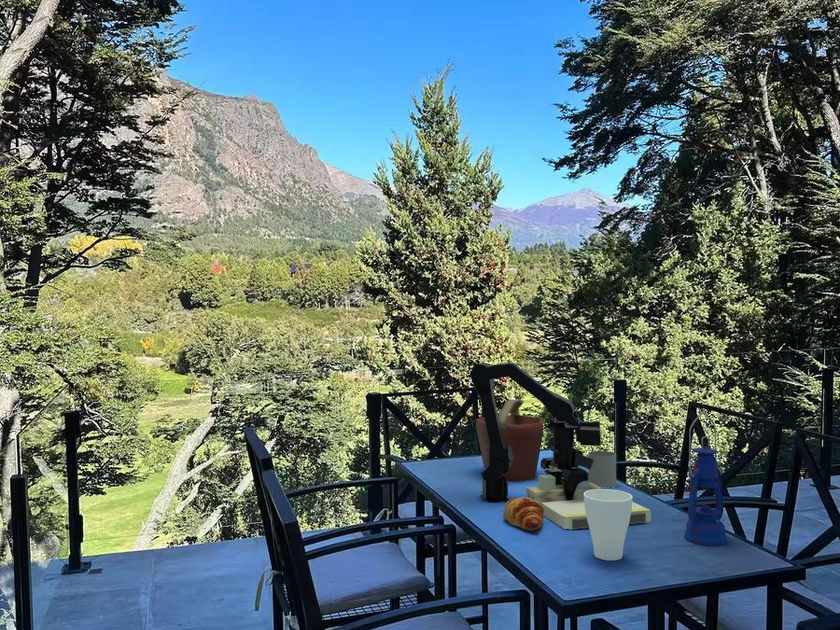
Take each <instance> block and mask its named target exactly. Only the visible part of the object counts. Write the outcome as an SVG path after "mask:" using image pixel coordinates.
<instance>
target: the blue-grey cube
mask: <svg viewBox="0 0 840 630" xmlns="http://www.w3.org/2000/svg"><path fill="white" fill-rule="evenodd" d="M587 487H589V480H588V481H583V482H581V483H580V484H578V485H577V488H587Z"/></svg>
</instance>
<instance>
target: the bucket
mask: <svg viewBox="0 0 840 630" xmlns="http://www.w3.org/2000/svg"><path fill="white" fill-rule="evenodd" d="M523 404H524V400H523V399H509V400H507V401H505V403H504V405H503V407H502V408H501V410H500V412H499V413H498V417H499V421H500V426H501V431H502V435H503V439H504V442H505V443H506V445H507V446H508V445H511V446H512V454H513V456H514V459H513V462H512V466H511V467H510V468H509V470H508V471H507V473H505V474H504V475H503V476H504V477H505V478H506V482H508V483H509V482H512V483H518V482H526V481H527V480H528V481H533V479H534V480H536V478H537V477H536V475H537V471H538V465H539V460H540V453H541V448H542V441H543V437H544V417H538V416H529V415H521V414H520V411H519V409H520V408H521V407H522V405H523ZM475 422H476V423H475V424H476V425H475V429H476V434H477V440H478V444H479V448H480V453H481V459H482V465H483V468H484V469H483V471H484V470H485V469H486V468H487V467H488V466H489V445H490V444H489V438H488V434H487V429H486V424H485V420H484V416H482V417H479V418H476V419H475Z"/></svg>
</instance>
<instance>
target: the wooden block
mask: <svg viewBox="0 0 840 630" xmlns="http://www.w3.org/2000/svg"><path fill="white" fill-rule="evenodd" d="M525 489H526V498H530V499H533V500H535V501H537V502H538V503H539V504H540V505H541V503H543V502H556V501H567V500H566V497H565V494H564V491H563V487H562V485H555V489H556V490H547V491H544V490H542V489H540V488H539V485H538V486H527V487H526V488H525ZM593 489H601V487H599V486H597V485H595V484H593V483H589V487H587V488H576V490H575V493H574V496H573V499H572V500H581V499H584V492H585V491H588V490H593Z"/></svg>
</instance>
